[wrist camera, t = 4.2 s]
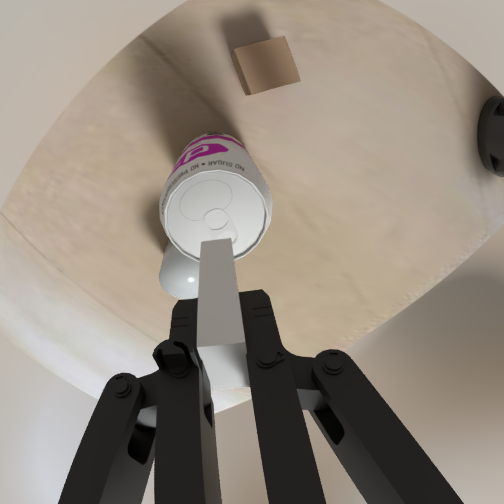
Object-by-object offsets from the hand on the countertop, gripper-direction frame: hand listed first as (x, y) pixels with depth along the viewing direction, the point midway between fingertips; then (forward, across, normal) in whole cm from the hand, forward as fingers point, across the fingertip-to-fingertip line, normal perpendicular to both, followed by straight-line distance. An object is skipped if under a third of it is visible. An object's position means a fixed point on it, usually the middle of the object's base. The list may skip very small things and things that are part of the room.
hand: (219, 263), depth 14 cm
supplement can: (+20, 0, 0) cm, 20 cm away
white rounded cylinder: (+20, +5, +11) cm, 24 cm away
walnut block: (+20, -6, -11) cm, 24 cm away
